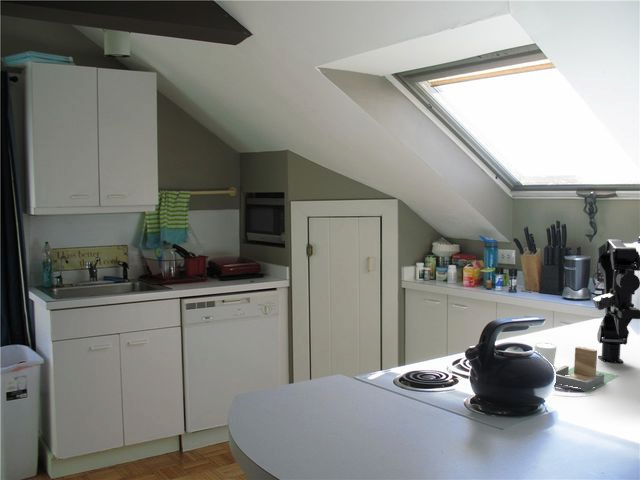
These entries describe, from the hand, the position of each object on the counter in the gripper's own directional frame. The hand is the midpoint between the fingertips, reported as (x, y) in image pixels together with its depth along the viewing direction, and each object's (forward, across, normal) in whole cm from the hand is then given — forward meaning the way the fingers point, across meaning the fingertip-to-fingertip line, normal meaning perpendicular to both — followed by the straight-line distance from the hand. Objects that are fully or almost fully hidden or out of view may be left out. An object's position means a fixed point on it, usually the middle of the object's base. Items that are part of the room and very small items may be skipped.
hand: (619, 335), depth 220 cm
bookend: (+12, +11, -16) cm, 23 cm away
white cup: (+12, -4, -22) cm, 26 cm away
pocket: (+12, +13, -17) cm, 24 cm away
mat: (+12, +9, -14) cm, 21 cm away
